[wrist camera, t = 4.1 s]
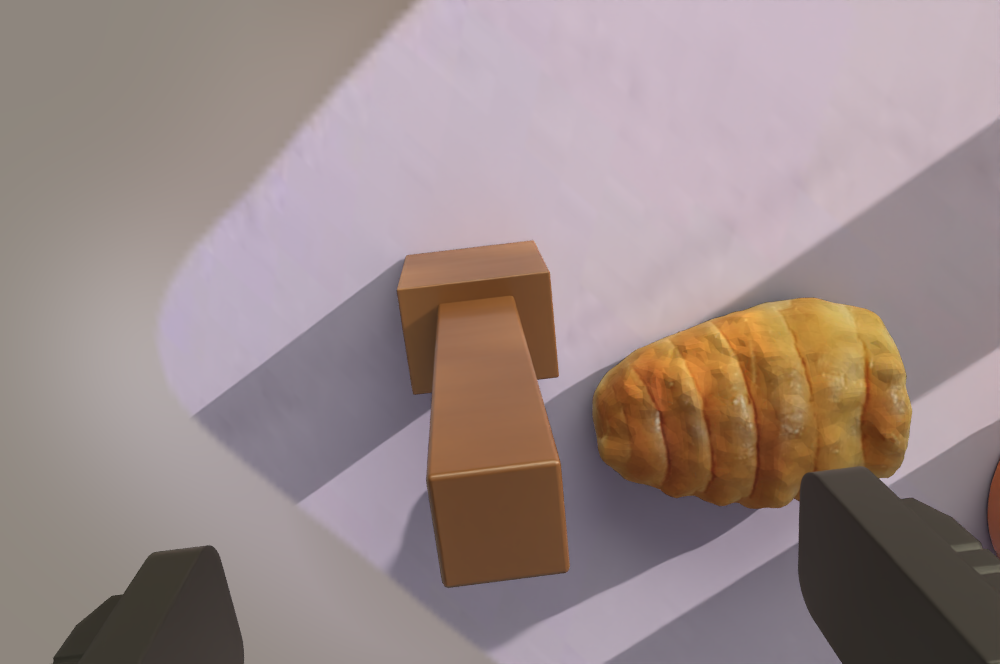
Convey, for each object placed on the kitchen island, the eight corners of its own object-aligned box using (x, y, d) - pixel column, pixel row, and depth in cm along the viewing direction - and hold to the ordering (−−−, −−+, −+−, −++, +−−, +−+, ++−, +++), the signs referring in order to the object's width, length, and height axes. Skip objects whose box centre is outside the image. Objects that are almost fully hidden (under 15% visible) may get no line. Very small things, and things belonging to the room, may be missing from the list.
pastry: (596, 499, 26) (619, 565, 22) (579, 316, 24) (601, 357, 20) (859, 461, 26) (923, 521, 23) (865, 277, 24) (937, 311, 20)
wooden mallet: (419, 345, 24) (383, 625, 12) (405, 255, 23) (350, 455, 11) (542, 331, 24) (635, 593, 12) (533, 240, 23) (627, 421, 11)
